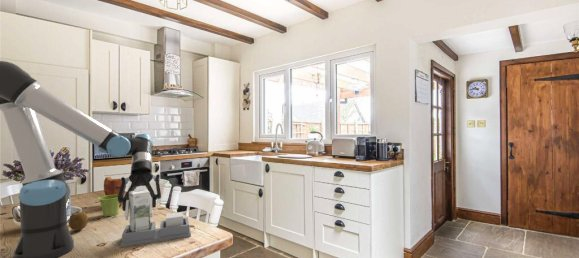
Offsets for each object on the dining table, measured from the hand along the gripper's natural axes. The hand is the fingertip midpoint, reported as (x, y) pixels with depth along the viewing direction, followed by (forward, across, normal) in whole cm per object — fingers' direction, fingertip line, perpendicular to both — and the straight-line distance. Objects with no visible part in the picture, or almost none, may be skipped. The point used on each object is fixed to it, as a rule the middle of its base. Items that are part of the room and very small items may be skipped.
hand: (138, 216), depth 103 cm
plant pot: (-24, +16, -38) cm, 47 cm away
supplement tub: (-23, +36, -36) cm, 56 cm away
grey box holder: (+4, -6, -9) cm, 11 cm away
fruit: (-11, +24, -24) cm, 36 cm away
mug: (-37, +18, -51) cm, 66 cm away
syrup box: (+2, 0, -7) cm, 7 cm away
